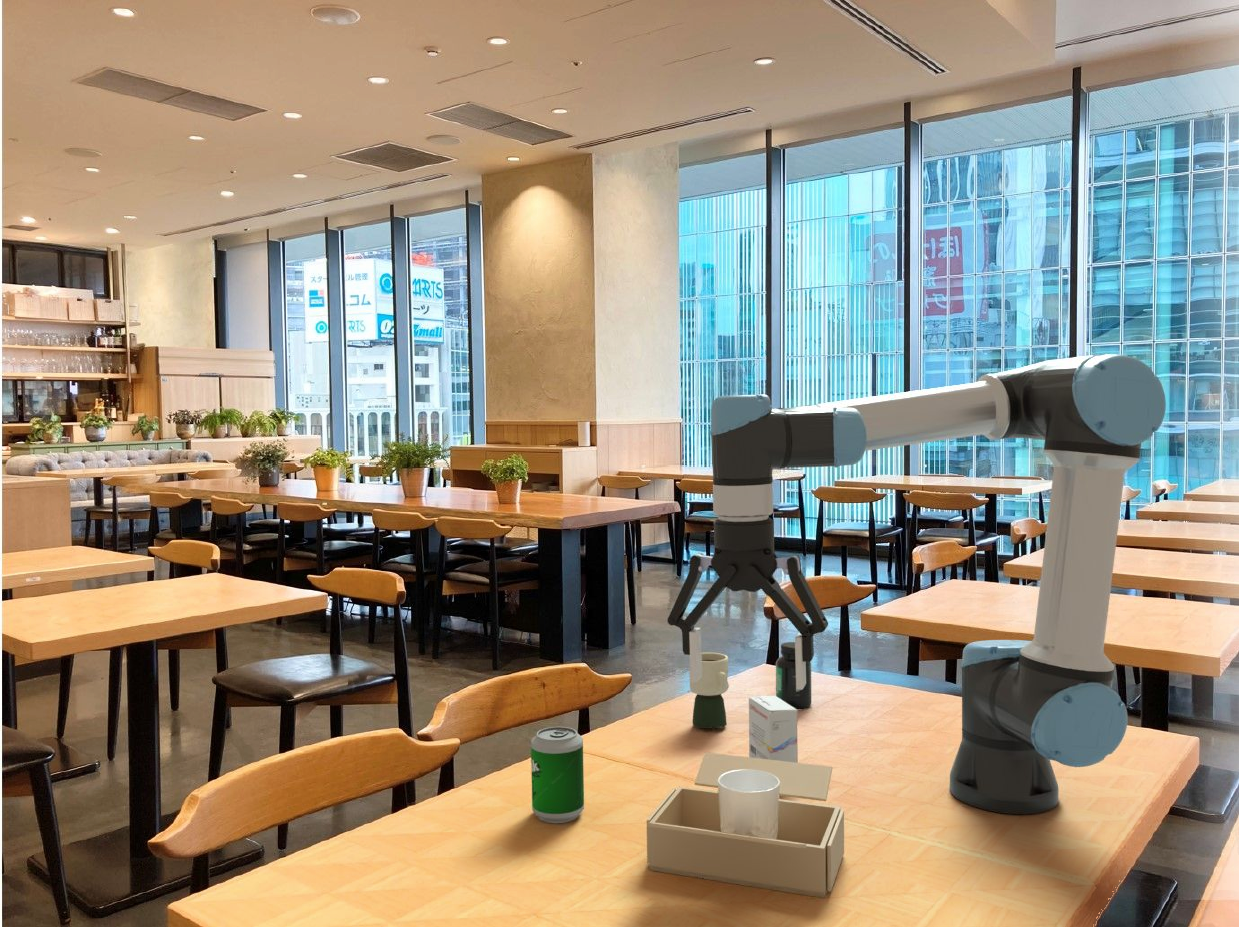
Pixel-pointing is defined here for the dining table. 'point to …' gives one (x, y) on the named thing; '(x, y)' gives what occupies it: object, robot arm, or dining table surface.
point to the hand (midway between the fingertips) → (747, 683)
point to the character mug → (710, 691)
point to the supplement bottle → (791, 679)
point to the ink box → (772, 729)
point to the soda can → (557, 774)
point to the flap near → (727, 835)
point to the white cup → (749, 803)
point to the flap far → (792, 775)
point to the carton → (748, 845)
